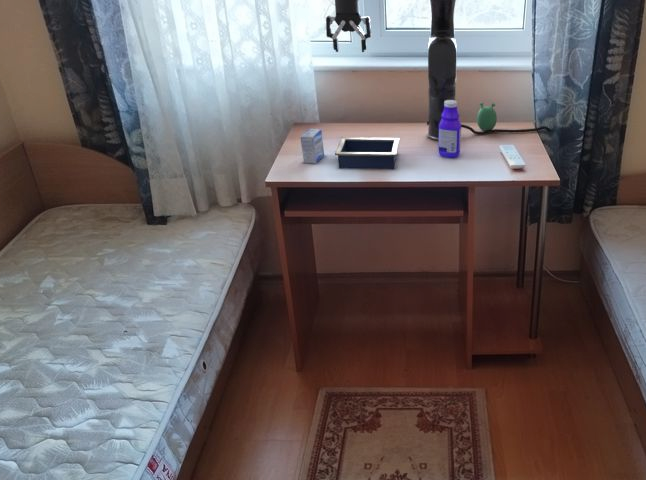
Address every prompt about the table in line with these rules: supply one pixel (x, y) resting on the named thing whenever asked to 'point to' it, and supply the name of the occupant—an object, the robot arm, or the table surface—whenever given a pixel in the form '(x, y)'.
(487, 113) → the alien toy
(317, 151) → the medicine box
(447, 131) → the bottle
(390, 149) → the rectangular frame
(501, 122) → the table surface
